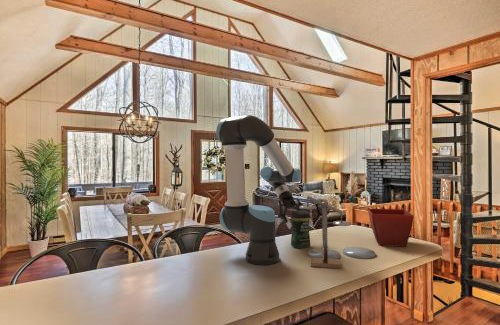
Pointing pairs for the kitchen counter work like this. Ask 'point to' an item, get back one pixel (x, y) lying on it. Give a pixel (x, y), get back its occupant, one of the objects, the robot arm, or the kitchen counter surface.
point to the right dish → (358, 252)
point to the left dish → (319, 253)
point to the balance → (325, 235)
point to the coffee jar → (300, 229)
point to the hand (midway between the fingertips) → (301, 226)
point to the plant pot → (391, 226)
